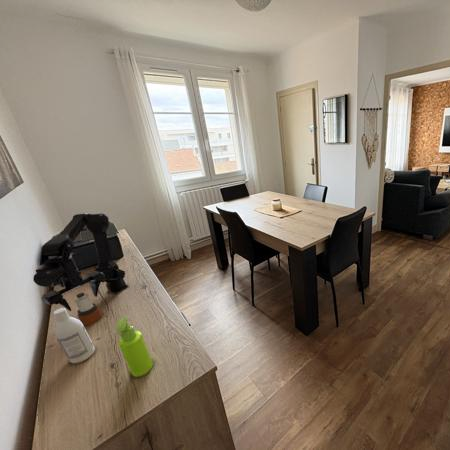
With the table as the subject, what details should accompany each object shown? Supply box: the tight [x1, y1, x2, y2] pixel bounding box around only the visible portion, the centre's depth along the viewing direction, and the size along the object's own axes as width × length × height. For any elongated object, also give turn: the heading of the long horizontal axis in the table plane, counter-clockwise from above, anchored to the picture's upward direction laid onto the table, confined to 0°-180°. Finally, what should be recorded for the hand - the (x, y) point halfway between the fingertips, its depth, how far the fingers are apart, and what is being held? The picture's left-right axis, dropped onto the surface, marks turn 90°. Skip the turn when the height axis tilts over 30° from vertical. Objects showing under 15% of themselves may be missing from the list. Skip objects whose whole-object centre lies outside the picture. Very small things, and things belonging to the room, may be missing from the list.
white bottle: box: [74, 292, 93, 312], centre depth 98 cm, size 4×4×7 cm
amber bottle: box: [76, 302, 103, 326], centre depth 101 cm, size 7×7×6 cm
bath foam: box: [52, 307, 96, 364], centre depth 81 cm, size 7×7×20 cm
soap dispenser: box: [115, 317, 154, 378], centre depth 74 cm, size 6×7×20 cm
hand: (83, 303), depth 99 cm, fingers open, 9 cm apart
